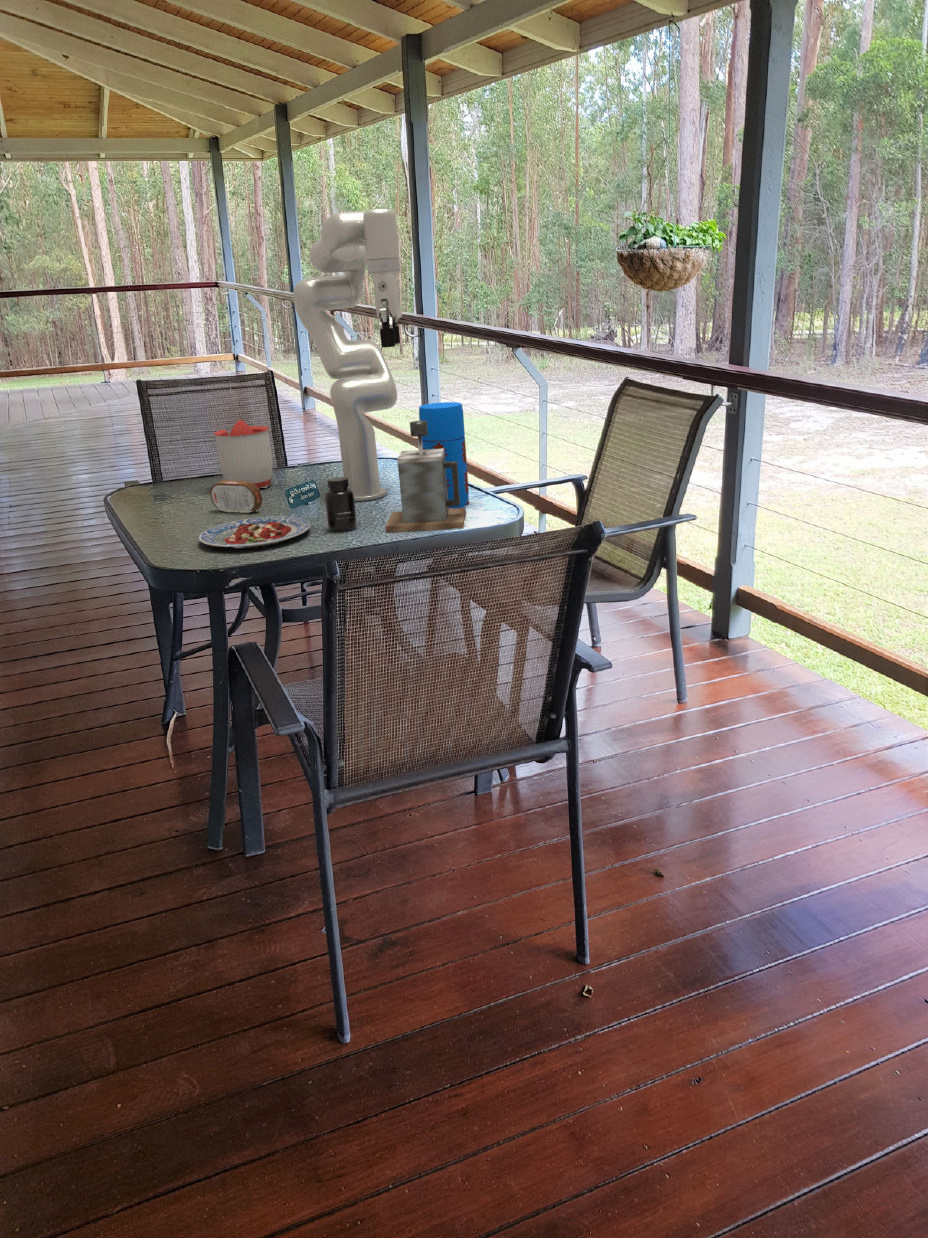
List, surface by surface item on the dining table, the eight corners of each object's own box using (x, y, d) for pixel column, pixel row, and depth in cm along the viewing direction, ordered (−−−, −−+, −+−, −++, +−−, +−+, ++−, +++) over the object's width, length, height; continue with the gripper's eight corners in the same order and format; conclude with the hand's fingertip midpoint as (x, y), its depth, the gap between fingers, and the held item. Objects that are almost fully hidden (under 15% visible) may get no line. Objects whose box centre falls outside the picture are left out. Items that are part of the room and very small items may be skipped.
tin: (264, 512, 252) (260, 480, 249) (257, 515, 249) (252, 483, 246) (218, 510, 258) (213, 479, 255) (211, 512, 255) (206, 481, 253)
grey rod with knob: (416, 511, 226) (408, 423, 219) (418, 507, 229) (410, 421, 222) (433, 510, 225) (426, 422, 218) (434, 506, 229) (427, 419, 222)
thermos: (464, 509, 238) (457, 407, 230) (422, 510, 240) (413, 409, 232) (472, 499, 248) (466, 401, 240) (432, 500, 250) (424, 403, 242)
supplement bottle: (345, 533, 224) (339, 482, 220) (322, 531, 228) (316, 481, 224) (363, 526, 230) (357, 476, 226) (340, 524, 233) (335, 475, 229)
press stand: (385, 532, 223) (378, 461, 217) (392, 517, 236) (386, 450, 230) (463, 528, 221) (458, 456, 216) (466, 513, 234) (461, 445, 229)
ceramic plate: (222, 527, 240) (220, 515, 239) (322, 522, 237) (321, 511, 236) (183, 556, 216) (181, 544, 215) (294, 552, 213) (293, 539, 212)
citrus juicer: (264, 479, 294) (254, 412, 287) (284, 487, 280) (275, 418, 273) (214, 487, 286) (203, 420, 280) (232, 497, 272) (221, 425, 265)
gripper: (395, 266, 211) (403, 347, 217) (404, 266, 228) (410, 341, 233) (362, 268, 212) (370, 349, 218) (372, 268, 228) (379, 343, 234)
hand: (391, 345), depth 225 cm, fingers open, 9 cm apart
